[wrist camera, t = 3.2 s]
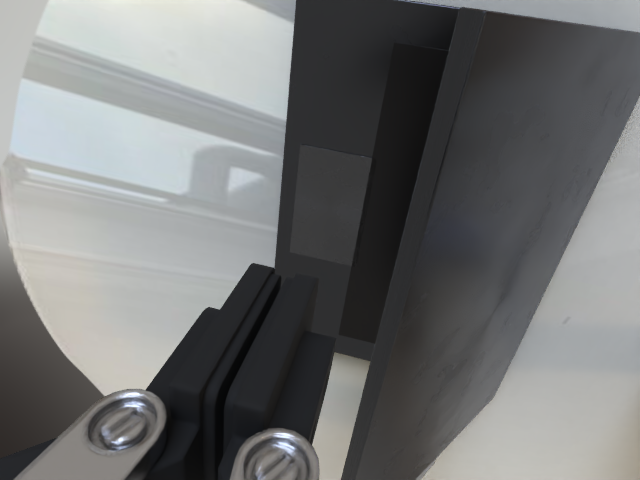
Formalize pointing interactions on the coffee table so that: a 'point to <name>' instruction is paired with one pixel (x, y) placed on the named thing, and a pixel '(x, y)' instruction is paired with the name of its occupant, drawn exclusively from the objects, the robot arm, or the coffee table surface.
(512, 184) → the screen
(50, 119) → the coffee table surface
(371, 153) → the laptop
